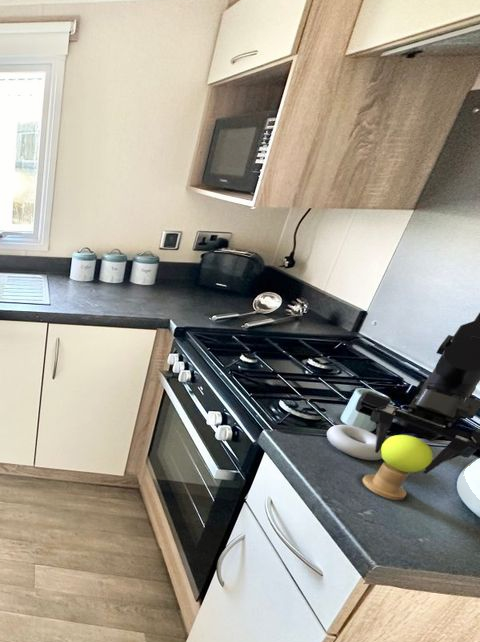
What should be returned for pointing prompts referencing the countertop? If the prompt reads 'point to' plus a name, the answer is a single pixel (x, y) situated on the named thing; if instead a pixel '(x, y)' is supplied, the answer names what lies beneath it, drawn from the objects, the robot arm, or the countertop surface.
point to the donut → (354, 441)
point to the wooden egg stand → (387, 482)
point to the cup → (355, 417)
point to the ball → (406, 453)
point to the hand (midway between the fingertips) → (399, 462)
